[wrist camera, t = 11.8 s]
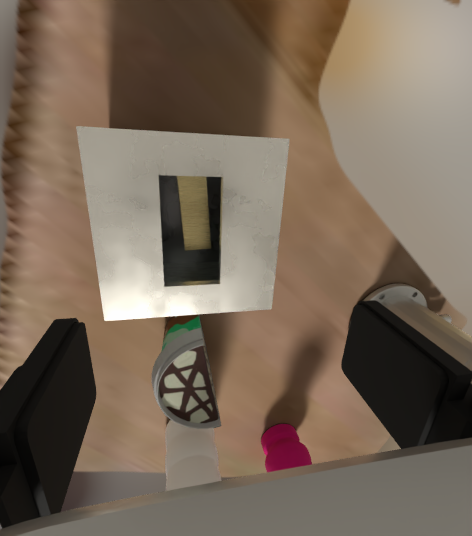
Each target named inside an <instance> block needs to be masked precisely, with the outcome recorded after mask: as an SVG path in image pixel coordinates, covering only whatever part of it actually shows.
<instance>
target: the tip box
mask: <svg viewBox="0 0 472 536" xmlns="http://www.w3.org/2000/svg"><path fill="white" fill-rule="evenodd" d="M76 128H77V135H78V142H79V148H80V155H81V162H82V169H83V176H84V183H85V190H86V197H87V204H88V210H89V217H90V224H91V231H92V238H93V245H94V252H95V259H96V265H97V272H98V279H99V286H100V293H101V300H102V307H103V314H104V320H105V321H111V320H125V319H139V318H154V317H168V316H182V315H196V314H210V313H224V312H238V311H253V310H267V309H272V301H273V291H274V281H275V272H276V262H277V253H278V243H279V234H280V224H281V215H282V205H283V196H284V186H285V177H286V167H287V157H288V148H289V139H282V138H265V137H248V136H232V135H215V134H198V133H181V132H164V131H148V130H131V129H114V128H97V127H81V126H76ZM177 176H204V177H206V180H207V195H208V209H209V224H210V239H211V248H209V249H199V250H189V251H185V247H184V240H183V233H182V223H181V214H180V204H179V195H178V186H177Z"/></svg>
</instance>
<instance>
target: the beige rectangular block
mask: <svg viewBox="0 0 472 536" xmlns="http://www.w3.org/2000/svg"><path fill="white" fill-rule="evenodd" d="M177 186H178V195H179V204H180V214H181V223H182V233H183V240H184V247H185V251H189V250H199V249H209V248H211V239H210V224H209V209H208V195H207V180H206V177H204V176H177Z"/></svg>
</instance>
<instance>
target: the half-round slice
mask: <svg viewBox="0 0 472 536" xmlns="http://www.w3.org/2000/svg"><path fill="white" fill-rule="evenodd" d="M152 386H153V390H154V394H155V398H156V401H157V403H158V405H159V406H160V408H161V410H162V411H163V412H164V414H165V415H166V416H167V417H168V418H169V419H171V420H172V421H174V422H175V423H177V424H180V425H182V426H185V427H189V428H196V429H209V428H216V427H220V426H221V422H220V416H219V411H218V406H217V401H216V396H215V390H214V385H213V380H212V374H211V369H210V364H209V359H208V354H207V349H206V344H205V340H204V335H203V330H202V325H201V321H200V316H199V314H196V315H182V316H172V317H171V318H170V319H169V321H168V323H167V325H166V328H165V333H164V339H163V346H162V352H161V353H160V355H159V356H158V358H157V359H156V362H155V364H154V367H153V371H152Z"/></svg>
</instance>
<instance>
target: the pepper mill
mask: <svg viewBox="0 0 472 536" xmlns="http://www.w3.org/2000/svg"><path fill="white" fill-rule="evenodd" d="M261 444H262V447H263V450H264V453H265V455H266V460H265V467H266V470H267V472H273V471H278V470H284V469H290V468H295V467H301V466H306V465H312V462H311V457H310V454H309V452H308V450H307V448H306V447H305V445H303V444H302V443H300V442H299V437H298V435H297V432H296V430H295V428H294V427H293V426H291V425H289V424H278V425H275V426H273V427H271V428H269V429H268V430H267V431H266V432H265V433H264V434H263V436H262V439H261Z"/></svg>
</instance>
